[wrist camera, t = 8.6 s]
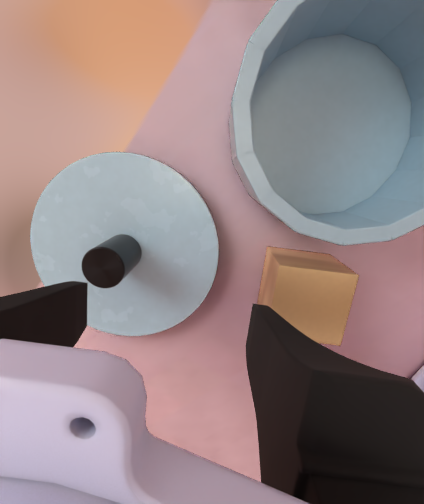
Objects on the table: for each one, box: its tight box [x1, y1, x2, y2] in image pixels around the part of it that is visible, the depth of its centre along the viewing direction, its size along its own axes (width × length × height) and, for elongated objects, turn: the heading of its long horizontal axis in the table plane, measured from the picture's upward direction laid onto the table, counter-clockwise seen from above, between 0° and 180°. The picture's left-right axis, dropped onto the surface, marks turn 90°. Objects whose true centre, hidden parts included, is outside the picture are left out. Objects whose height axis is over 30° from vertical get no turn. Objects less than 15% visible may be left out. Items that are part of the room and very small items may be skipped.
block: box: [257, 247, 359, 346], centre depth 18 cm, size 4×4×4 cm
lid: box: [30, 152, 219, 336], centre depth 18 cm, size 13×13×5 cm
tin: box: [229, 0, 424, 246], centre depth 15 cm, size 12×12×6 cm
